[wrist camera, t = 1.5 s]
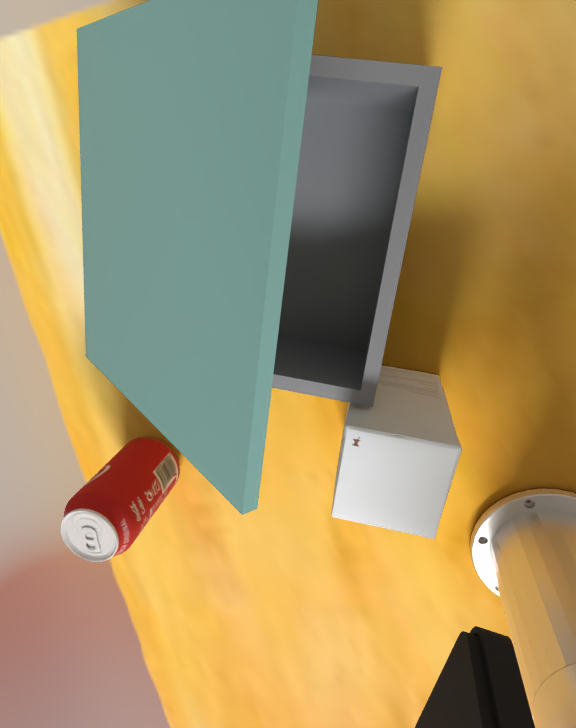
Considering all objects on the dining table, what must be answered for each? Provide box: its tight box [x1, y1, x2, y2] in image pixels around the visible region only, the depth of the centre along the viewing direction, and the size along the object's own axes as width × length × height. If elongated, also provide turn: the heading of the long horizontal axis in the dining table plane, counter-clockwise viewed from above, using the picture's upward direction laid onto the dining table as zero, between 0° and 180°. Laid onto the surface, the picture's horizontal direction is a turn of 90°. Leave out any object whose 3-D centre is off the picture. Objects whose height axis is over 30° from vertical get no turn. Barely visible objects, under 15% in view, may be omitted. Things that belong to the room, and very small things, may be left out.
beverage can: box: [61, 437, 180, 562], centre depth 45 cm, size 6×6×12 cm
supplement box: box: [332, 365, 462, 539], centre depth 38 cm, size 7×7×13 cm
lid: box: [77, 0, 318, 515], centre depth 25 cm, size 20×20×1 cm
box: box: [272, 55, 442, 407], centre depth 35 cm, size 20×20×10 cm
